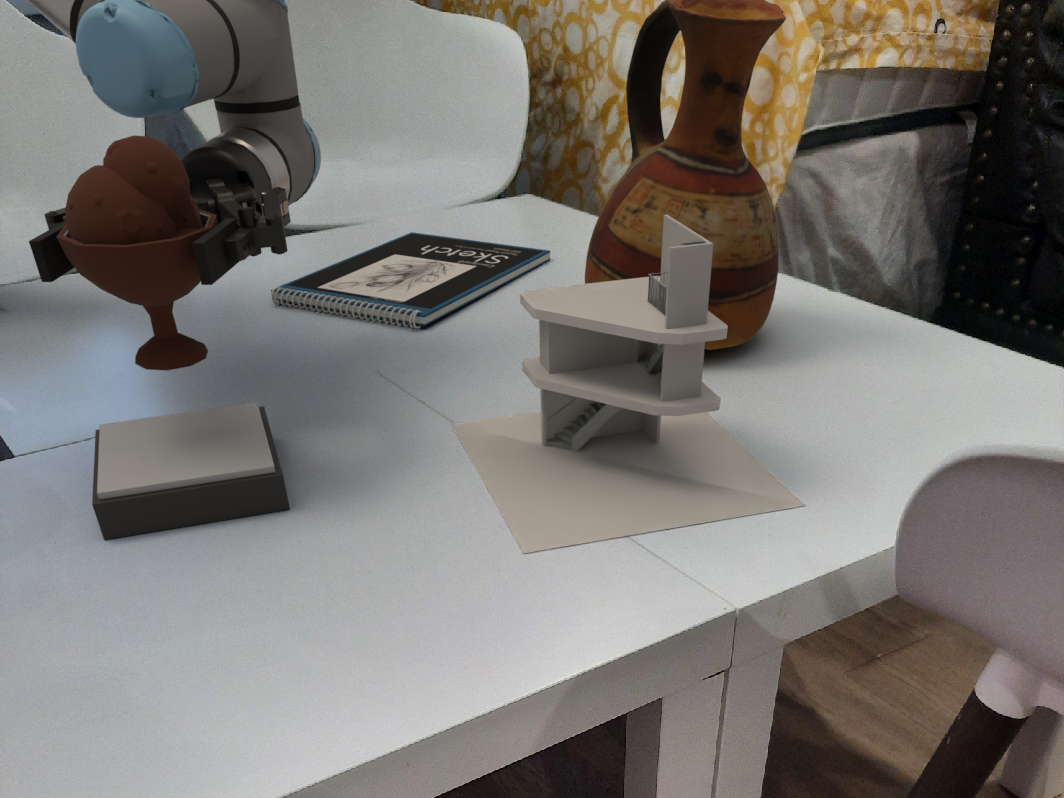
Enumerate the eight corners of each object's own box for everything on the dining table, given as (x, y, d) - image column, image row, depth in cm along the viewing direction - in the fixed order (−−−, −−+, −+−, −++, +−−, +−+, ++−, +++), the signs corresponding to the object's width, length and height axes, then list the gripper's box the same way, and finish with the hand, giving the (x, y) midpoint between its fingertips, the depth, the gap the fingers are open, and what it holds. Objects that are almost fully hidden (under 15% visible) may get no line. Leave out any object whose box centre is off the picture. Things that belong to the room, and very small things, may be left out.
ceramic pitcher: (683, 386, 97) (710, 6, 77) (544, 334, 108) (538, -7, 89) (809, 336, 106) (861, -13, 87) (669, 293, 118) (688, -23, 99)
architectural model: (684, 391, 96) (700, 181, 84) (805, 505, 78) (846, 259, 66) (451, 424, 91) (433, 206, 80) (523, 553, 73) (514, 297, 62)
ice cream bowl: (195, 323, 84) (147, 115, 74) (270, 356, 78) (228, 135, 68) (74, 357, 78) (4, 138, 68) (144, 396, 72) (78, 161, 62)
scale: (106, 462, 86) (93, 422, 84) (270, 438, 90) (262, 399, 87) (104, 540, 76) (89, 497, 74) (290, 509, 79) (281, 467, 77)
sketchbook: (550, 261, 130) (550, 244, 128) (420, 334, 110) (418, 314, 108) (412, 241, 138) (410, 225, 137) (267, 305, 118) (264, 286, 116)
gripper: (370, 236, 88) (293, 321, 71) (114, 233, 90) (-18, 315, 73) (359, 138, 83) (273, 205, 66) (88, 138, 85) (-59, 202, 69)
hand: (120, 263), depth 70 cm, fingers closed on ice cream bowl, 11 cm apart
